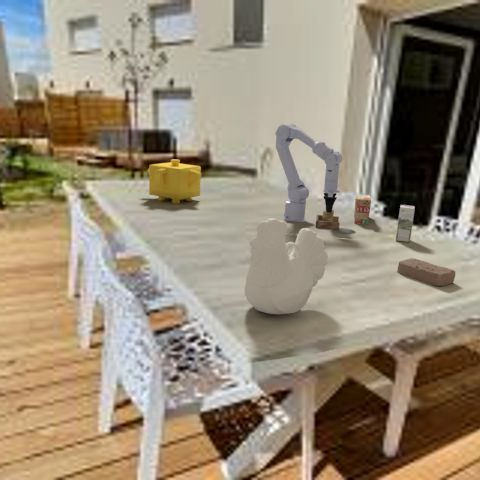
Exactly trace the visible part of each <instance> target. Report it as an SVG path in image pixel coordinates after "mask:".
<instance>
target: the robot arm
mask: <svg viewBox="0 0 480 480" xmlns="http://www.w3.org/2000/svg"><path fill="white" fill-rule="evenodd" d="M274 135H275V137H276V138H275V149H276V152H277V154H278V157H279V160H280V162H281V166H282V169H283V172H284V174H285V177H286V179H287V182H288V185H287V188H286V189H287V197H288V199H289V200H286V201H285V204H284V213H283V216H284V219H283V221H284V222H286V221H288V222H297V223H298V222H300V223H305V222H306V219H307V218H306V216H305V215H306V206H307V205H306V204H307V199H308V197H309V195H310V191H309V189H308V188H307V187H306V185H305V183H304V182H303V181H302V180H301V178H300V176H299V173H298V169H297V168H296V165H295V162H294V159H293V156H292V154H291V151H290V147H289V146H290V145H291V143H292V141H294V140H295V139H297V140H299V141H300V142H302V143H303V144H305V145H307V146H308V147H309V148H311V149H312V150H311V151H312V153H313V154H315V155H316V156H317V157H319V158H320V159H321V160H322V161H324V163H325V174H324V176H325V177H324V187H323V200H324V205H325V209H326V212H330V213H331V212H332V210H333V209H334V204H335V202H336V200H337V198H338V197H337V196H336V195H337V193H340V192H341V191H340V190H339V189H338V187H339V186H338V184H339V175H340V164H341V163H342V161H343V156H342V154H341V153H340V152H339V151H335V149H334V148H330V147H329V146H328V145H327V144H326V142H324V141H323V142H322V141H316V140H314V138H312V137H311V136H310V135H308V134H307V133H306V132H305V131H303V129H301V127H299V126H296V124H293V123H290V124H281V125H279V126H278V127H277V128H276V131H275V134H274Z"/></svg>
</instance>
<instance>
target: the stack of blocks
mask: <svg viewBox="0 0 480 480" xmlns="http://www.w3.org/2000/svg"><path fill="white" fill-rule="evenodd" d="M371 204H372V198H371V195H370V194H359V193H358V194H356V197H355V201H354V213H353V214H354V215H353V218H354V220H353V221H354V222H353V223H354V224H357V225H359V224H360V225H369V220H370V211H371Z"/></svg>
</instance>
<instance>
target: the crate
mask: <svg viewBox="0 0 480 480" xmlns="http://www.w3.org/2000/svg"><path fill="white" fill-rule="evenodd" d="M322 219H323V214H316V218H315V220H316V221H315V228H319V229H328V230H329V229H331V230H332V229H339V228H340V222H339V219H340V218H339V216H337V215H335V216H334V215H333V222H330V221H322Z"/></svg>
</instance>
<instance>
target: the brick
mask: <svg viewBox="0 0 480 480" xmlns="http://www.w3.org/2000/svg"><path fill="white" fill-rule="evenodd" d="M396 273H398V274H401V275H404V276H406V277H408V278H409V277H410V278H412V279H415V280H417V281H421V282H423V283H426V284H428V285H433V286H437V287H442V286H443V287H444V286H447V285H451V284H453V283H454V282H455V278H456V270H454V269H451V268H447V267H445V266H438V265H436V264H433V263H429V262H428V261H425V260H421V259H418V258H417V259H416V258H414V257H412V258H408V259H403V260H400V261H399V262H398V266H397V271H396Z"/></svg>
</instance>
